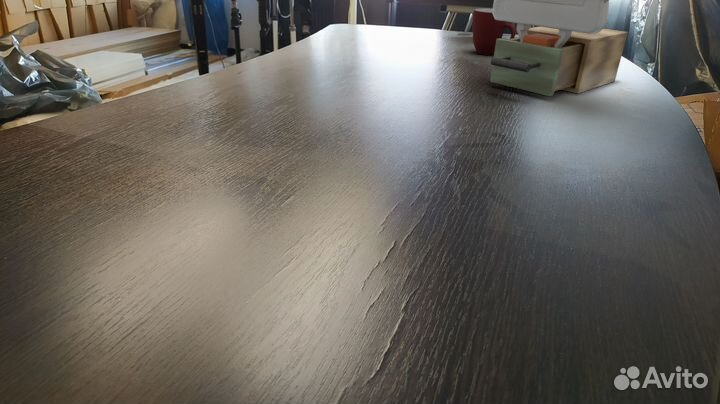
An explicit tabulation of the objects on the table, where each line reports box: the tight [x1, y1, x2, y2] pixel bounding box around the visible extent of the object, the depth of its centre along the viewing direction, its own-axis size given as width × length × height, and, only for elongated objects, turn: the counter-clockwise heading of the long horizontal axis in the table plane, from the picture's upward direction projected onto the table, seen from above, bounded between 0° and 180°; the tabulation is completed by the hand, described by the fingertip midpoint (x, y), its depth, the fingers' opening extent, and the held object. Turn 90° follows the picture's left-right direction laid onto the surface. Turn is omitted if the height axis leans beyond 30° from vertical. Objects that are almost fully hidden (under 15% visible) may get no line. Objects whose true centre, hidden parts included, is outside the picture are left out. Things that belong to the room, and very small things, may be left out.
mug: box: [471, 8, 516, 56], centre depth 121 cm, size 10×8×10 cm
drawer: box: [489, 37, 585, 97], centre depth 91 cm, size 19×12×8 cm, turn 132°
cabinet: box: [527, 26, 629, 94], centre depth 99 cm, size 16×14×10 cm
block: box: [523, 34, 560, 47], centre depth 90 cm, size 4×4×4 cm
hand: (539, 52), depth 90 cm, fingers closed on block, 4 cm apart
